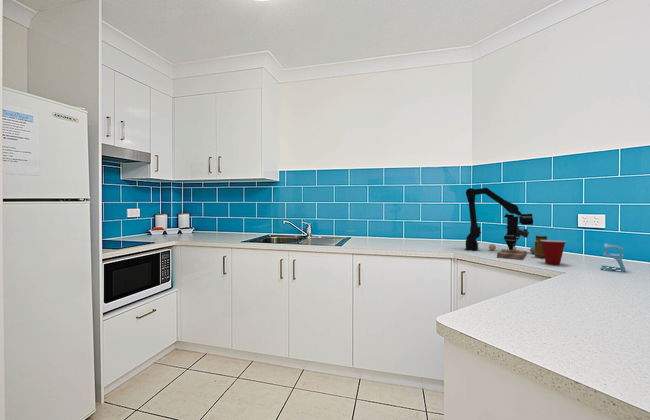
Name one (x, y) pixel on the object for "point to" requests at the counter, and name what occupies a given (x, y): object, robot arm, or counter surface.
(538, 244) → the condiment
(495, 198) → the robot arm
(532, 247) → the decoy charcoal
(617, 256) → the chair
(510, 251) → the brown recessed board
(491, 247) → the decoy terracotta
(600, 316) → the counter surface
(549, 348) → the counter surface
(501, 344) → the counter surface
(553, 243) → the plastic cup
